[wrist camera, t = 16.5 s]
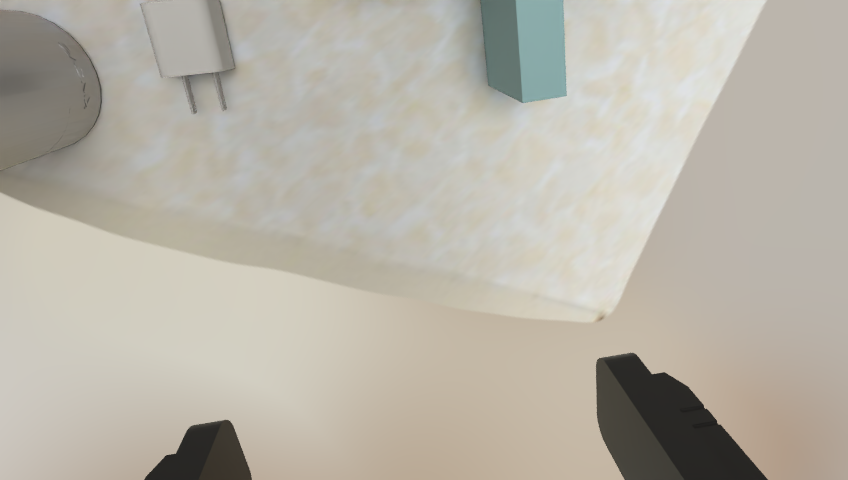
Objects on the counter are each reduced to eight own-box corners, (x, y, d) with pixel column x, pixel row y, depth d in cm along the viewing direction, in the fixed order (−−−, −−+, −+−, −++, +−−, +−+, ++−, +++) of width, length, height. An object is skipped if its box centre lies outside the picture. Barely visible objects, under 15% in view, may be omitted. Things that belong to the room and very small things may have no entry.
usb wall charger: (222, 0, 34) (202, -4, 31) (245, 104, 37) (230, 112, 33) (162, 6, 34) (135, 3, 31) (190, 110, 37) (169, 119, 33)
